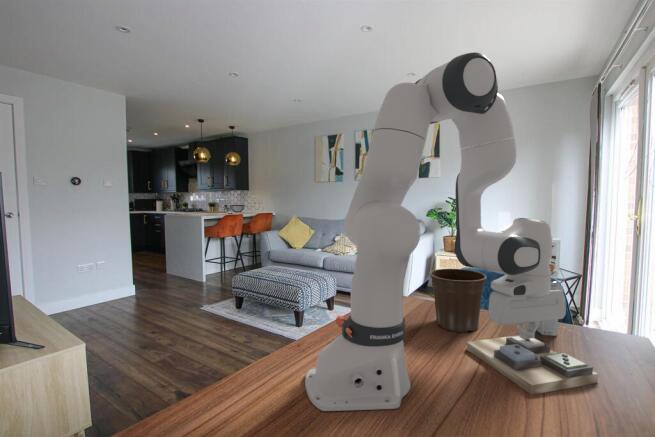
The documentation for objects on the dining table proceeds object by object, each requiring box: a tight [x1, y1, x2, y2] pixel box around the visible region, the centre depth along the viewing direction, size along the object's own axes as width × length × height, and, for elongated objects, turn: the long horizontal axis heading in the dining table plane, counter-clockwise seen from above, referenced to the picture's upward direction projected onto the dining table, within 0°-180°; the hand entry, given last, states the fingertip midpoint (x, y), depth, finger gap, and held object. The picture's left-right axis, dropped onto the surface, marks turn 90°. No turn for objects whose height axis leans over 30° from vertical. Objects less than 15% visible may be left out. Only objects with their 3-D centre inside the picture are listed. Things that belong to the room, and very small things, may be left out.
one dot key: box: [511, 335, 546, 348], centre depth 80 cm, size 5×5×2 cm
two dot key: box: [500, 344, 535, 363], centre depth 74 cm, size 5×5×2 cm
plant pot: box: [429, 268, 487, 333], centre depth 100 cm, size 16×16×16 cm
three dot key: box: [546, 352, 587, 370], centre depth 71 cm, size 5×5×2 cm
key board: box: [466, 334, 599, 396], centre depth 76 cm, size 17×20×4 cm
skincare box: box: [536, 319, 559, 337], centre depth 94 cm, size 6×4×12 cm
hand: (526, 338), depth 80 cm, fingers closed
